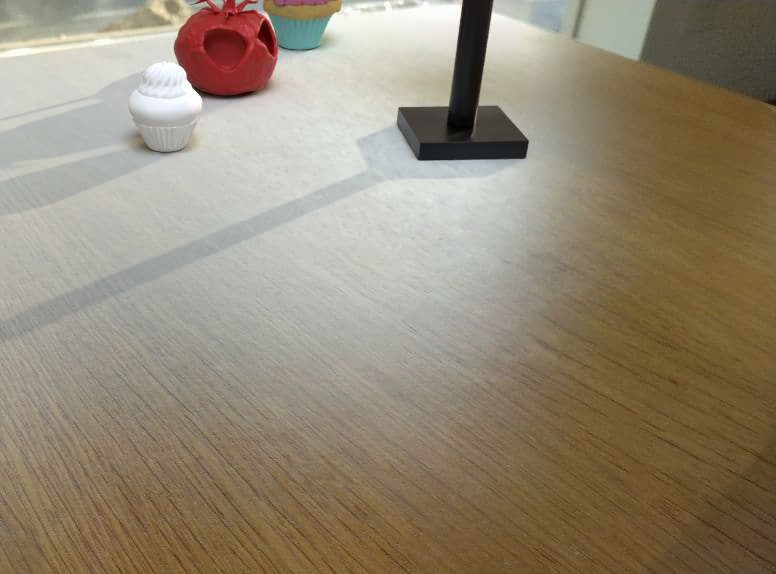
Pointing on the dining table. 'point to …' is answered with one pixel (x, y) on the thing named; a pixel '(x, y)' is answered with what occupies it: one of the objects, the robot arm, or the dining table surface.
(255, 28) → the pomegranate
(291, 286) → the dining table surface
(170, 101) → the muffin
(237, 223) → the dining table surface
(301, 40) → the cupcake
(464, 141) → the stand
